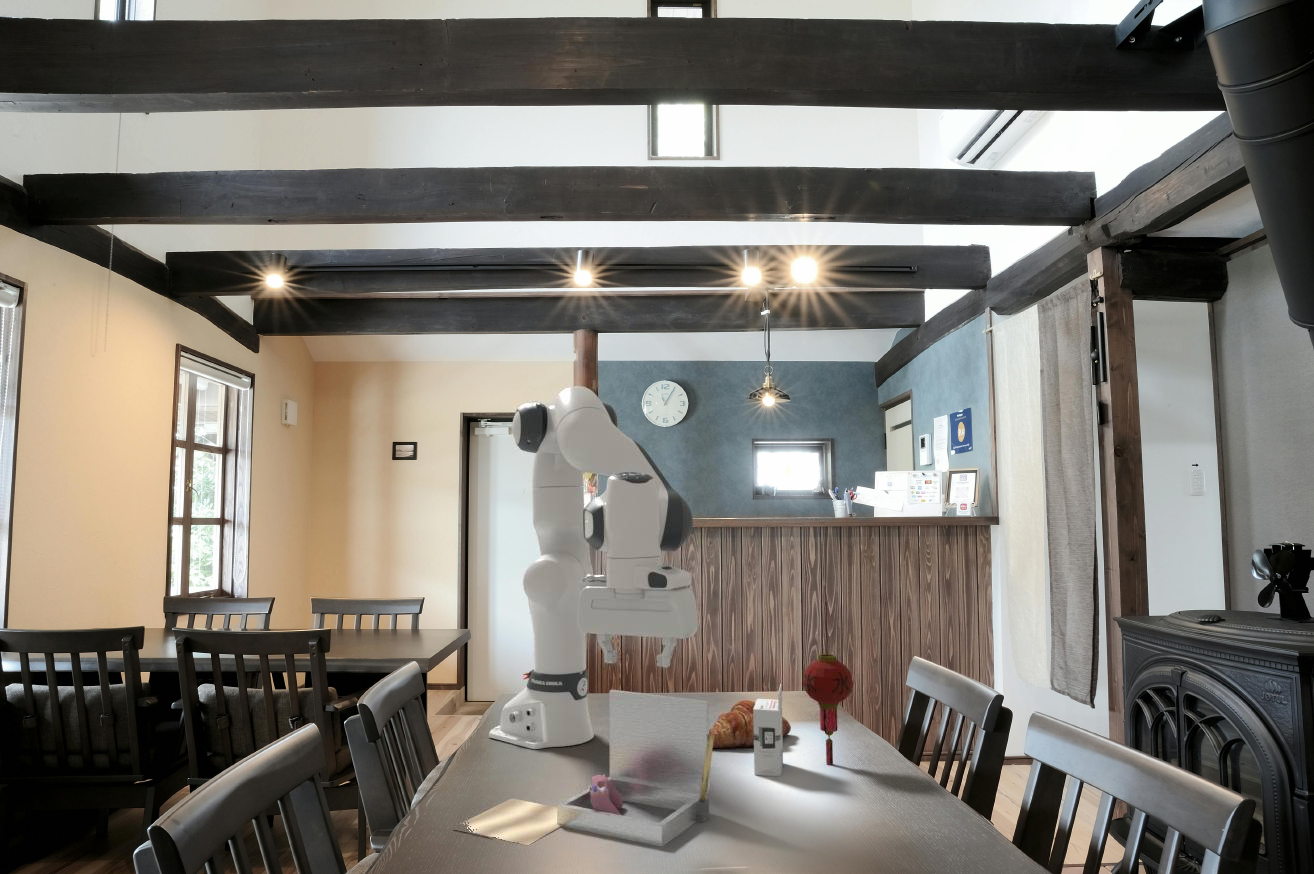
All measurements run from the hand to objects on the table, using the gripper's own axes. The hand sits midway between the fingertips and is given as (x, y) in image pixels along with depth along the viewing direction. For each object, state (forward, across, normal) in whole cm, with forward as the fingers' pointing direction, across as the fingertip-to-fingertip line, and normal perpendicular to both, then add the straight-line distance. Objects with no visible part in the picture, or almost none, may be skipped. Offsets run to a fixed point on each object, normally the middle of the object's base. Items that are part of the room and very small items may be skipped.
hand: (637, 664), depth 130 cm
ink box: (+25, +8, +34) cm, 42 cm away
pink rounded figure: (+24, -4, -2) cm, 24 cm away
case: (+24, -1, 0) cm, 24 cm away
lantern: (+25, +17, +42) cm, 51 cm away
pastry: (+25, -3, +49) cm, 55 cm away
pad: (+23, -16, -10) cm, 30 cm away
